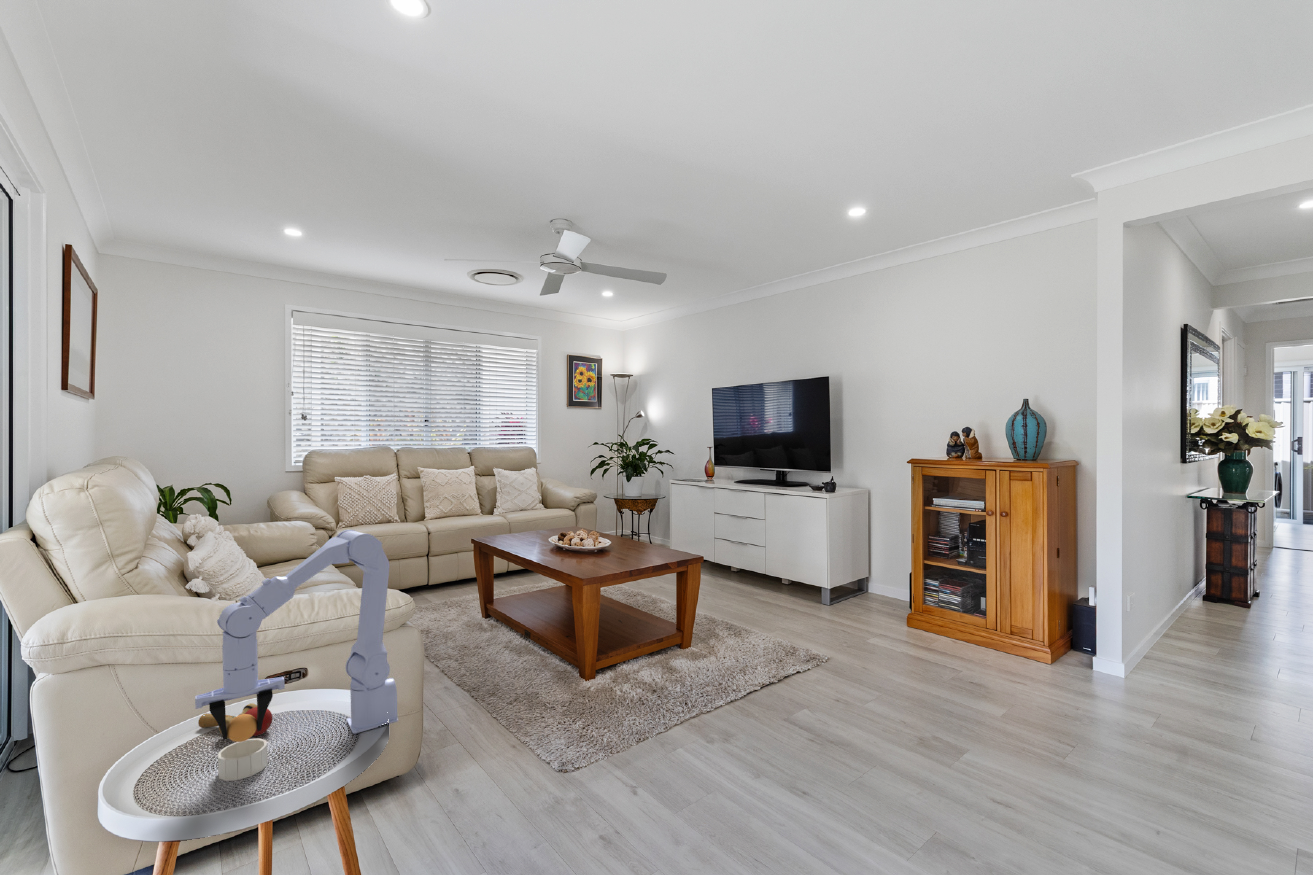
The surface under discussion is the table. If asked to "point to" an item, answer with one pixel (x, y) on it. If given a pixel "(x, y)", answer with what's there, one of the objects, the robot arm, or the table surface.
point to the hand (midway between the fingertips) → (242, 733)
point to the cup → (242, 759)
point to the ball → (241, 728)
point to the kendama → (248, 709)
